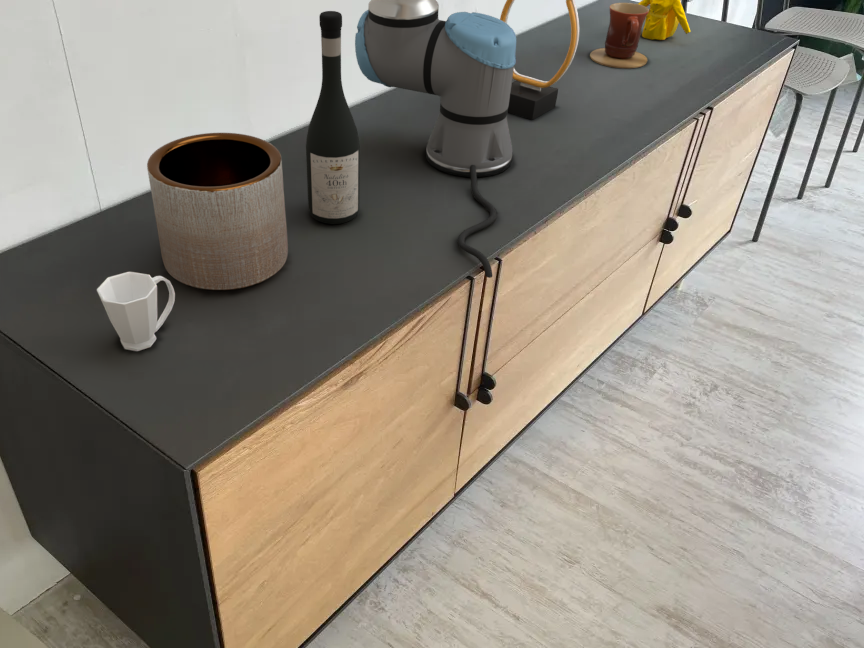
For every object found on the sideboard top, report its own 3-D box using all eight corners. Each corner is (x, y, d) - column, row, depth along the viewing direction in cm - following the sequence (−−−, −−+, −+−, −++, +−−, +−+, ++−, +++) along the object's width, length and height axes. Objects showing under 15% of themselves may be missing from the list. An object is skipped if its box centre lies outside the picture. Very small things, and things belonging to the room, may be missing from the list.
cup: (97, 343, 97) (83, 289, 92) (158, 306, 104) (148, 254, 98) (135, 365, 94) (123, 311, 89) (196, 326, 101) (187, 273, 95)
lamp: (478, 103, 159) (497, -73, 139) (502, 91, 165) (524, -80, 144) (549, 125, 151) (581, -57, 131) (572, 112, 156) (606, -66, 136)
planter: (172, 230, 118) (155, 131, 108) (289, 228, 120) (283, 130, 109) (156, 298, 105) (135, 192, 95) (288, 294, 106) (281, 189, 96)
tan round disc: (645, 71, 175) (646, 69, 175) (587, 64, 178) (587, 62, 178) (648, 53, 185) (648, 51, 185) (592, 46, 188) (592, 45, 187)
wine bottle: (362, 225, 121) (364, 21, 101) (311, 228, 120) (303, 23, 100) (355, 200, 127) (356, 3, 107) (306, 203, 126) (298, 5, 106)
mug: (596, 48, 186) (605, 2, 179) (633, 49, 186) (644, 3, 179) (607, 65, 177) (617, 17, 170) (645, 66, 176) (657, 18, 170)
